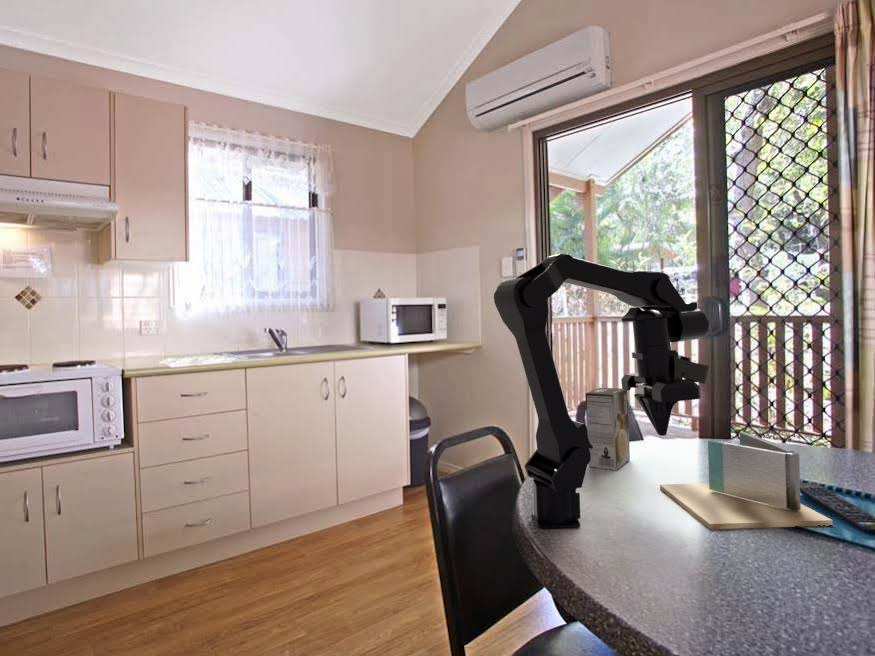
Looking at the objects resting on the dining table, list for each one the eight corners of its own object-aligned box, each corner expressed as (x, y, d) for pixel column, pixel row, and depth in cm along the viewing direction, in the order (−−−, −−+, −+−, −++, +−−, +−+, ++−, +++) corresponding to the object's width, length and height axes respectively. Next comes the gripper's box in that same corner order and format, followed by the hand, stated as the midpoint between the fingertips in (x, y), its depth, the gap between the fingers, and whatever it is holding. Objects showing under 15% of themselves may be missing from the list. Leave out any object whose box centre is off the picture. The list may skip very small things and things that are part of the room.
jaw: (796, 511, 78) (795, 456, 78) (709, 489, 89) (707, 440, 89) (802, 508, 79) (801, 453, 79) (716, 486, 91) (714, 438, 90)
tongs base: (710, 529, 76) (708, 464, 76) (658, 487, 95) (656, 435, 95) (832, 525, 76) (830, 460, 75) (755, 484, 95) (754, 431, 94)
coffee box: (602, 456, 117) (599, 386, 116) (630, 460, 113) (628, 388, 113) (587, 466, 109) (584, 392, 109) (617, 471, 106) (614, 394, 105)
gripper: (729, 342, 79) (740, 442, 79) (674, 339, 97) (683, 420, 97) (657, 349, 79) (668, 449, 79) (616, 345, 98) (625, 426, 98)
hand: (662, 435), depth 88 cm, fingers closed
